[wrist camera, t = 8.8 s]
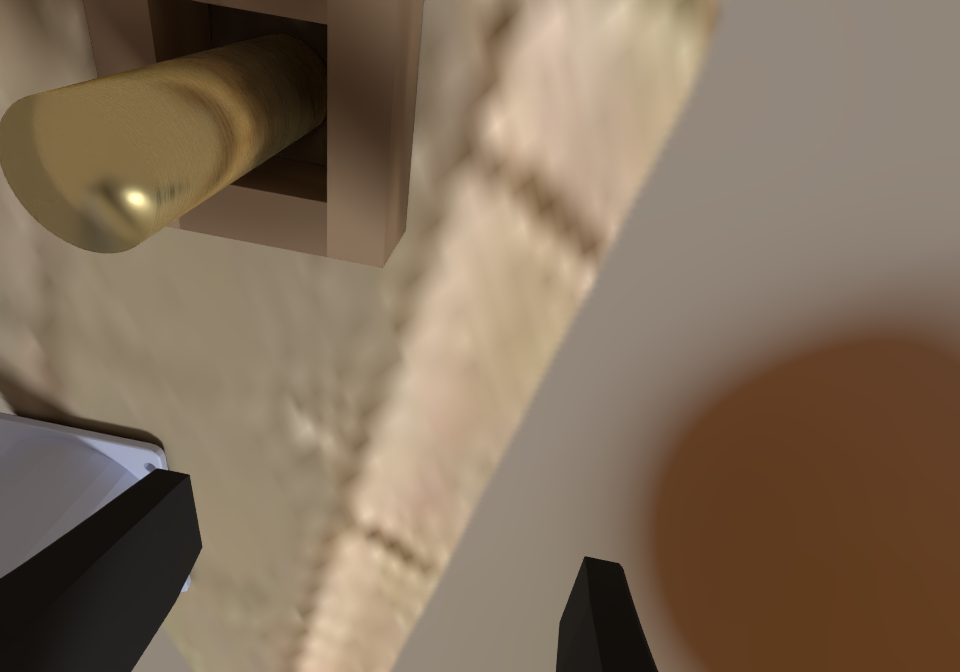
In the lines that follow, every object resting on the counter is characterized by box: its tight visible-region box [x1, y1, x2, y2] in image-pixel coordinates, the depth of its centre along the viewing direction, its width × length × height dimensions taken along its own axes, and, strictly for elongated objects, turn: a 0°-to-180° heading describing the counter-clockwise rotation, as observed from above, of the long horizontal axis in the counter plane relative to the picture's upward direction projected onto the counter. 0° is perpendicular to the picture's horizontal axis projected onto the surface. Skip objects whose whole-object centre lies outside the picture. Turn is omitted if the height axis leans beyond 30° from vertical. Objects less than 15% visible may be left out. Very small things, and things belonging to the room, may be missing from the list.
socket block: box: [83, 0, 424, 268], centre depth 15 cm, size 7×7×2 cm
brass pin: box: [0, 34, 327, 253], centre depth 13 cm, size 2×2×8 cm
